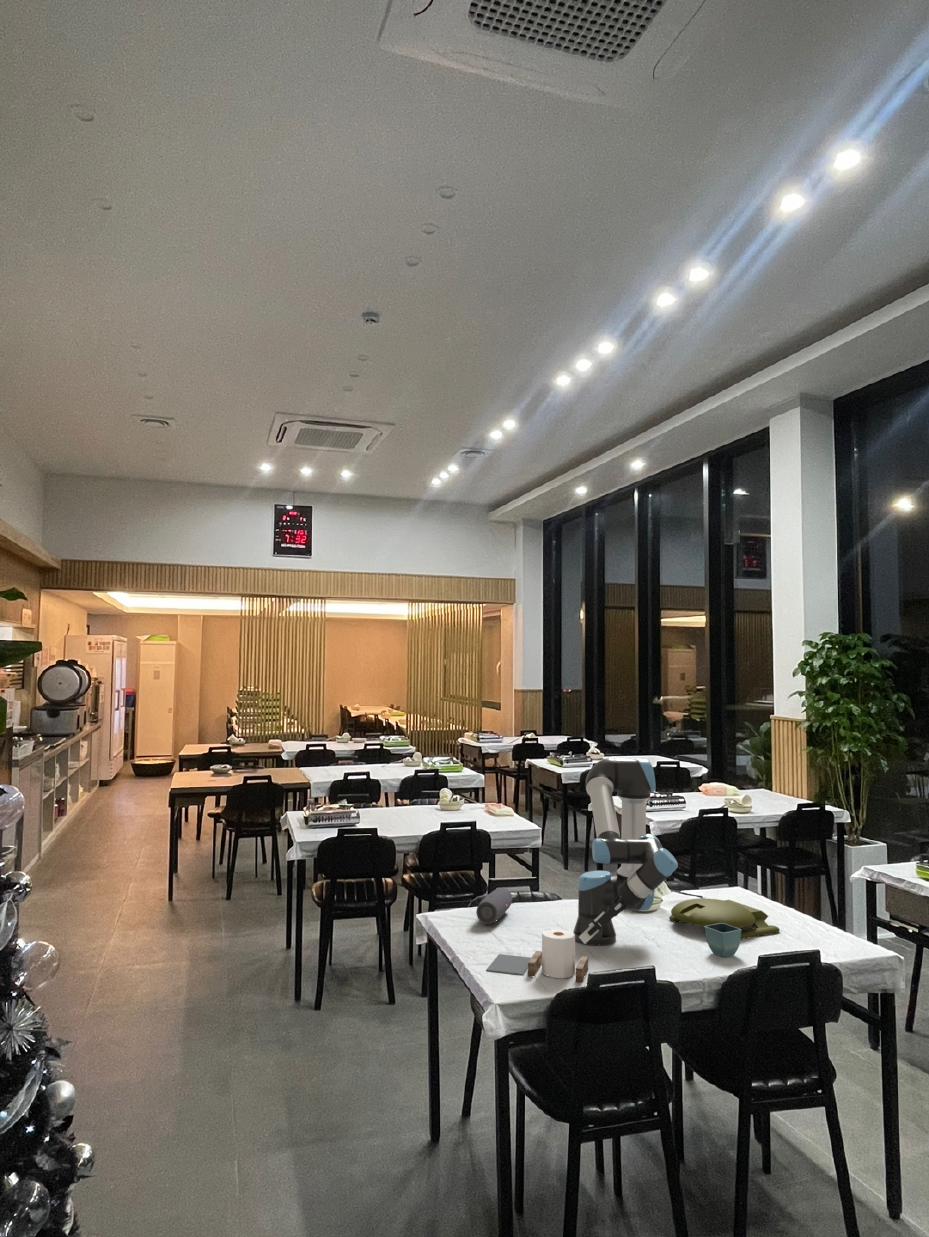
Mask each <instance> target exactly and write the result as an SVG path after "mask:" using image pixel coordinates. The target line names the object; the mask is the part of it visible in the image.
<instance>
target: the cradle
mask: <svg viewBox="0 0 929 1237" xmlns="http://www.w3.org/2000/svg"><path fill="white" fill-rule="evenodd" d="M540 966H541V967H542V950H535V951H534V954H533V955H532V956H531V959H530V961H529V962H528V969H527V976H528V977H532V976H534V977H535V976H536V975H537V973H538V971H539V970H540V968H541V967H540ZM538 969H539V970H538ZM588 971H589V956H585V955H581V957H580V959H579V960H578V963H577V965H576V966H575V982H576V983H583V982H584V979H585V977H586V975H587V973H588ZM584 976H585V977H584Z"/></svg>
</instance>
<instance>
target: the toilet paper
mask: <svg viewBox="0 0 929 1237" xmlns="http://www.w3.org/2000/svg"><path fill="white" fill-rule="evenodd" d="M541 952H542V965H541V972H542V973H543V975H544V976H546V975H548V976H547V977H549V976H551V977H550V978H552V977H553V979H567V977H568V978H572V977H573V976H574V975H576V941H575V934H574V933H573V931H572V930H571V931H570V930H567V929H563V928H562V929H559V928H558V929H556V928H552V929H546V930H544V931H543V932H542V933H541ZM571 976H572V977H571Z"/></svg>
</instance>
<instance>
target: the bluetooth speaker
mask: <svg viewBox="0 0 929 1237" xmlns="http://www.w3.org/2000/svg"><path fill="white" fill-rule="evenodd" d="M512 903H513V896H512V893H511V892H510V890H509V889H507V888H506V887H499V888H496V889H494V890H492V891H491V892H490V893H489V894H487V895H486V896H485V897H484V898H483V899H482V900H481V901H480V902H479V904H478V905H477V908H476V911H475V912H476V917H477V919H478V920H479V922H481V923H483V924H484V925H491V924H494V923H493V922H495V921H496V920H498V919H499V918H500V917H502V916H503V915H504V914H505V913H506V912H507V911H508V909H509V908H510V907H511V906H512ZM500 919H501V918H500ZM500 919H499V920H500ZM499 920H498V921H499ZM495 923H496V922H495Z"/></svg>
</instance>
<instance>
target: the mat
mask: <svg viewBox="0 0 929 1237" xmlns="http://www.w3.org/2000/svg"><path fill="white" fill-rule="evenodd" d="M531 958H532V956H530V957H529V956H520V955H511V954H501V953H499V954H497V956H496V957H495V959H494V960H492V962H491V963H490V965H489V966H488V967H487V968H486V970H485V971H486V972H492V973H501V974H509V975H518V976H524V975H525V973H526V972H527V971H528V962H529V961H530V959H531ZM526 970H527V971H526Z"/></svg>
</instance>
